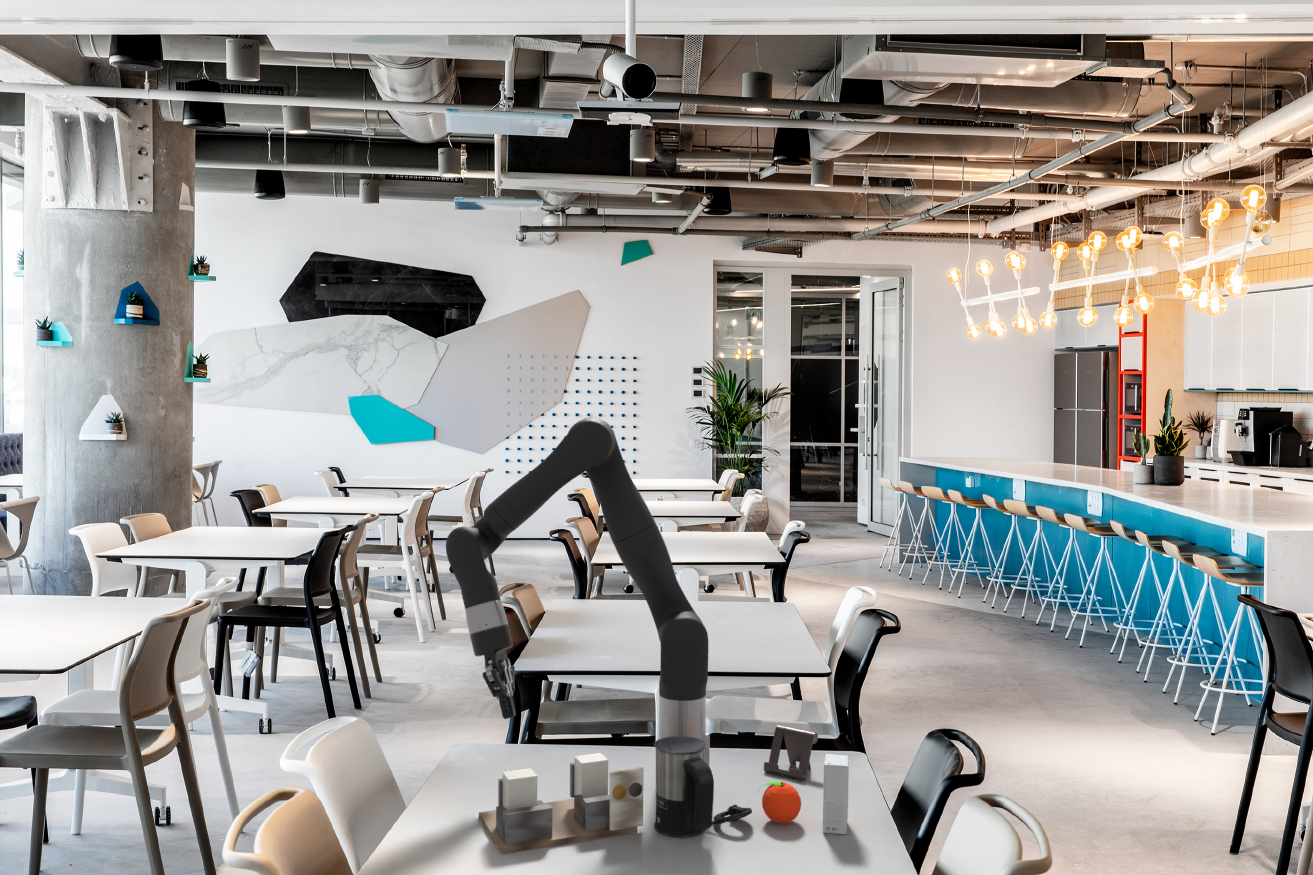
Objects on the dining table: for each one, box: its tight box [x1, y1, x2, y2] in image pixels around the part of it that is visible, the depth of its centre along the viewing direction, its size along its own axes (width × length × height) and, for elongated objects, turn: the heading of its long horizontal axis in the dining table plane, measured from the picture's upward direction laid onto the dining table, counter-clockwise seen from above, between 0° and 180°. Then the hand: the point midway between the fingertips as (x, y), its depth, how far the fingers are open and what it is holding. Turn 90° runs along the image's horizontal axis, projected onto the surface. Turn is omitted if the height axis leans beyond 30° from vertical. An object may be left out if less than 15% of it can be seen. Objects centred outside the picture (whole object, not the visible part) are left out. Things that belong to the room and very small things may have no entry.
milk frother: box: [653, 736, 753, 838], centre depth 180 cm, size 14×16×15 cm
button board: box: [478, 766, 645, 855], centre depth 180 cm, size 25×16×11 cm, turn 113°
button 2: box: [569, 752, 609, 799], centre depth 185 cm, size 6×5×9 cm
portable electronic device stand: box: [763, 724, 819, 782], centre depth 207 cm, size 9×8×8 cm
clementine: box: [756, 781, 802, 824], centre depth 182 cm, size 8×7×7 cm
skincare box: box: [822, 753, 850, 836], centre depth 180 cm, size 6×4×12 cm
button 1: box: [497, 767, 538, 810], centre depth 176 cm, size 6×5×9 cm
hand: (509, 717), depth 194 cm, fingers closed
